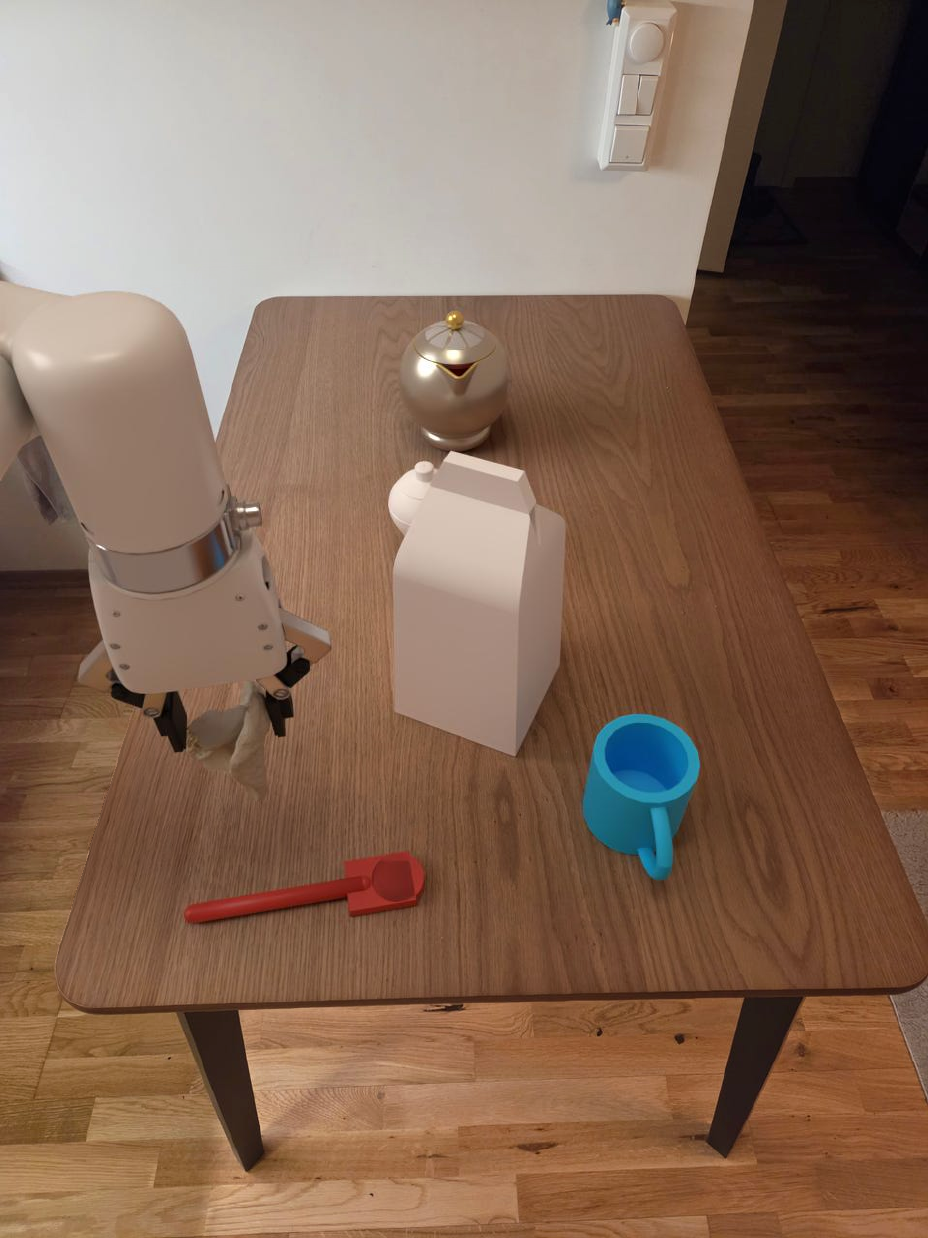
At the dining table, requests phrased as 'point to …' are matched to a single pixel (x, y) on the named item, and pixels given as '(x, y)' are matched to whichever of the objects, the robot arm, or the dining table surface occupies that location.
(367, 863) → the red toy shovel
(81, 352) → the robot arm
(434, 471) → the spinning top
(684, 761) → the mug
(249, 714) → the bone
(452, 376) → the teapot
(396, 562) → the milk
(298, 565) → the dining table surface
